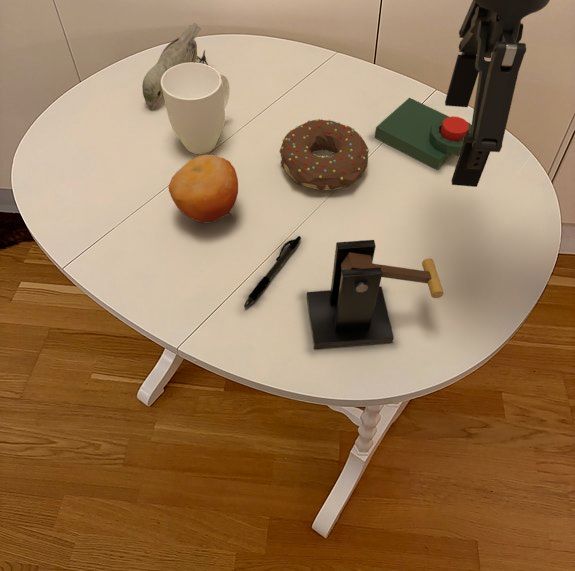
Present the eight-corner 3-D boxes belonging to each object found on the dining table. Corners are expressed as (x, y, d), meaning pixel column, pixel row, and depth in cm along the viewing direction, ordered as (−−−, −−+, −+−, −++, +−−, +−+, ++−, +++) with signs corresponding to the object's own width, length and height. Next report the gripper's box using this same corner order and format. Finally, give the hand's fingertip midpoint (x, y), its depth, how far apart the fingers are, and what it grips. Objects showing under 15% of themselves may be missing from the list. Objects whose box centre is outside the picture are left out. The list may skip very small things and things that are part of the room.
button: (470, 132, 94) (473, 123, 92) (458, 145, 92) (460, 136, 90) (448, 121, 95) (451, 112, 94) (435, 134, 93) (437, 125, 92)
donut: (264, 154, 96) (264, 129, 91) (337, 128, 99) (340, 103, 95) (308, 212, 88) (309, 188, 84) (385, 182, 92) (390, 157, 88)
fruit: (194, 250, 85) (170, 203, 77) (180, 208, 90) (156, 161, 83) (257, 225, 85) (239, 176, 78) (238, 185, 91) (221, 135, 83)
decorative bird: (136, 105, 102) (128, 67, 96) (187, 57, 111) (182, 19, 105) (163, 115, 101) (155, 77, 95) (212, 65, 109) (209, 27, 103)
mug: (203, 170, 93) (194, 106, 84) (161, 147, 96) (148, 83, 86) (249, 130, 99) (245, 66, 89) (208, 110, 102) (200, 46, 92)
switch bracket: (380, 291, 80) (395, 228, 70) (392, 342, 75) (410, 283, 65) (306, 297, 79) (310, 233, 69) (314, 349, 75) (319, 290, 64)
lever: (427, 268, 74) (437, 256, 72) (437, 301, 71) (448, 289, 70) (338, 255, 70) (347, 242, 69) (345, 289, 67) (354, 277, 66)
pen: (293, 236, 85) (293, 231, 84) (303, 241, 85) (303, 236, 84) (238, 305, 78) (237, 300, 77) (248, 311, 78) (248, 306, 77)
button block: (481, 144, 98) (488, 124, 94) (450, 177, 93) (457, 157, 90) (407, 108, 103) (411, 88, 100) (374, 137, 98) (377, 118, 95)
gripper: (466, -112, 59) (423, 74, 76) (491, 29, 45) (431, 219, 62) (543, -107, 59) (483, 78, 76) (593, 36, 44) (504, 225, 62)
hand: (459, 142), depth 69 cm, fingers open, 13 cm apart
